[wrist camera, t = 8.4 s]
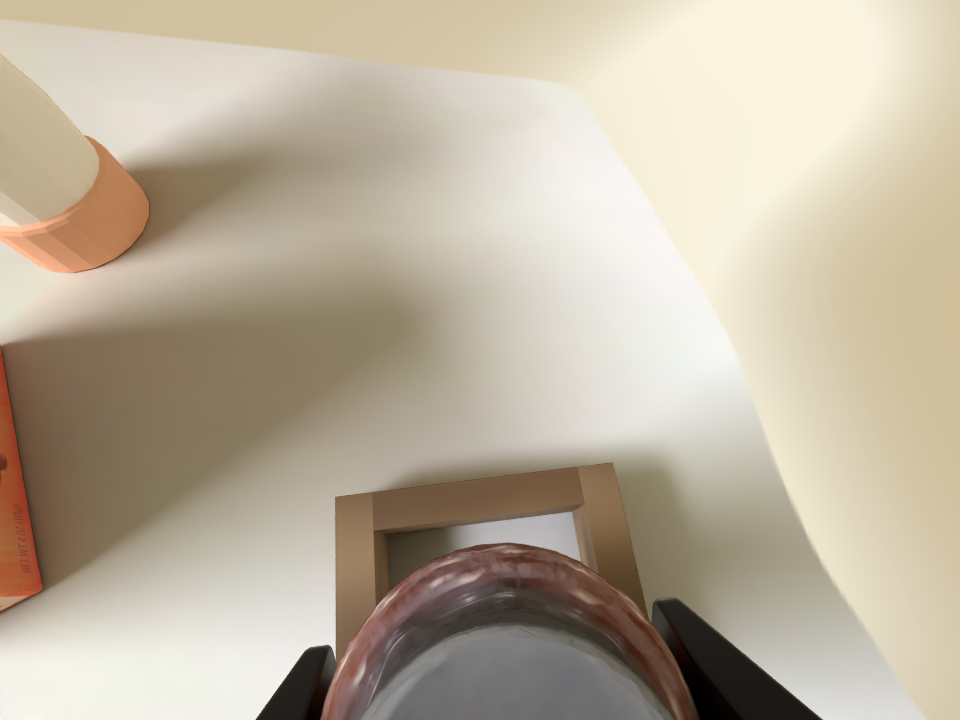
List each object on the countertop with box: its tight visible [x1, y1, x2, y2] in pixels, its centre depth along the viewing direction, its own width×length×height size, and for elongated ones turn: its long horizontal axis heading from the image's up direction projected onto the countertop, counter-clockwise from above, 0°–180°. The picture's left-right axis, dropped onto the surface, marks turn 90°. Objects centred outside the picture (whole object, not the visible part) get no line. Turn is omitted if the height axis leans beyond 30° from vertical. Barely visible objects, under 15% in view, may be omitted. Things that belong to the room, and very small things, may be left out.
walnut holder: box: [335, 463, 648, 667], centre depth 19 cm, size 12×12×3 cm
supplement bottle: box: [320, 543, 700, 720], centre depth 10 cm, size 6×6×11 cm
